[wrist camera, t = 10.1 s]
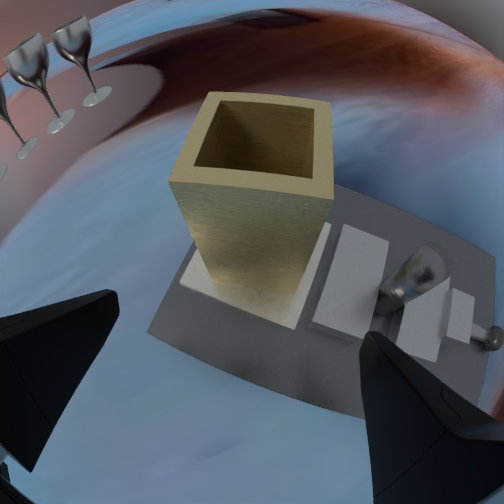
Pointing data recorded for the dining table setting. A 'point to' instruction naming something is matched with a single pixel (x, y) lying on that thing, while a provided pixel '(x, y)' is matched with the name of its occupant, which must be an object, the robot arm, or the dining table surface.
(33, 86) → the goblet set
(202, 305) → the grey base plate
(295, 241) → the sleeve
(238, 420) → the dining table surface
